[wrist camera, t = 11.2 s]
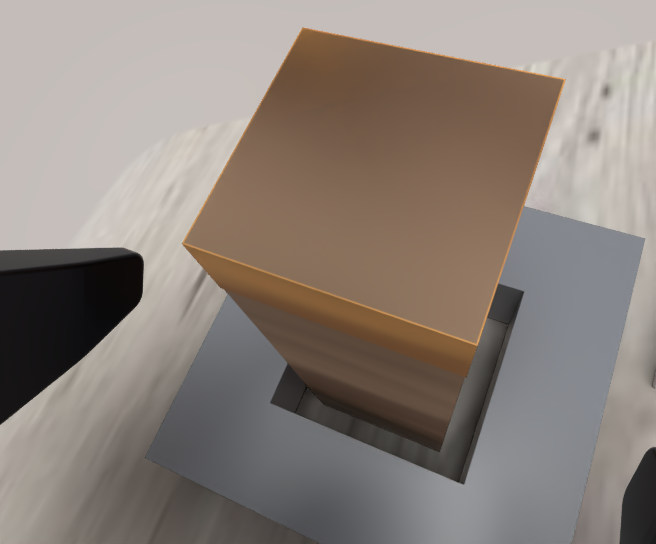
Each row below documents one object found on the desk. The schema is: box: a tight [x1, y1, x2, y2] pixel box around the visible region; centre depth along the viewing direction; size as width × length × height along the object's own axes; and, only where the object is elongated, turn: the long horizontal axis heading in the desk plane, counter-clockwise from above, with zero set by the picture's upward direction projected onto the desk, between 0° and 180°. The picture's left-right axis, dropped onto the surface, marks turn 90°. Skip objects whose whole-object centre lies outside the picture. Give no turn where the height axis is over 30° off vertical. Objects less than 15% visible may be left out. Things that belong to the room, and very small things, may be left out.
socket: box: [145, 206, 645, 544], centre depth 17 cm, size 11×11×3 cm
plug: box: [182, 28, 566, 452], centre depth 13 cm, size 4×4×12 cm
